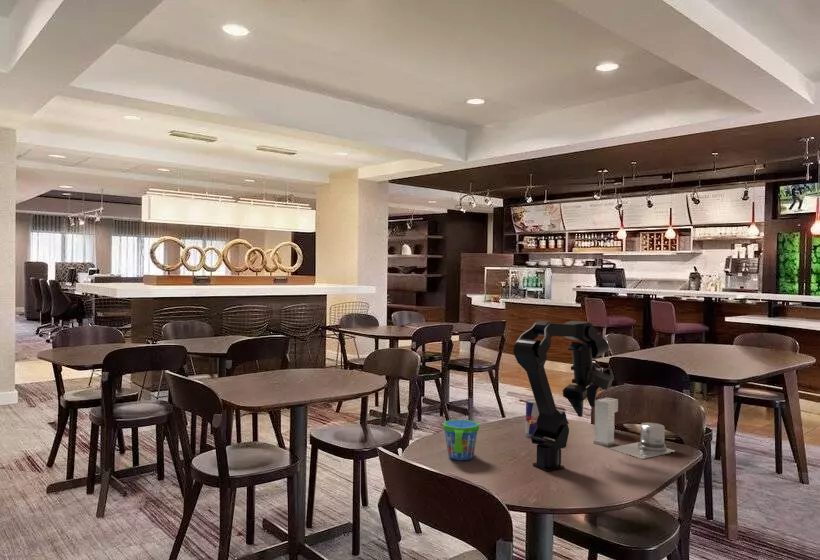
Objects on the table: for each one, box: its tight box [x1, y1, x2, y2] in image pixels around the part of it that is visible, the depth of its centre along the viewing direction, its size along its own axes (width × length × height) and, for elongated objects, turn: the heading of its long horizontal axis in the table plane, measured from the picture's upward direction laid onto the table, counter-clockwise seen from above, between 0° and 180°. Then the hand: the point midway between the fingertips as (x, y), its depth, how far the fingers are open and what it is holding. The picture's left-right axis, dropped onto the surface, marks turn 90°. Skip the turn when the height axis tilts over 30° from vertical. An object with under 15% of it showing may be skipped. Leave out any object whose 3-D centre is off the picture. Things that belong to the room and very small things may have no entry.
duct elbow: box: [593, 397, 619, 447], centre depth 195 cm, size 8×5×14 cm, turn 135°
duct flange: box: [609, 422, 676, 460], centre depth 187 cm, size 17×12×7 cm
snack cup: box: [442, 419, 480, 461], centre depth 177 cm, size 16×10×10 cm
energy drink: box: [525, 399, 539, 439], centre depth 201 cm, size 5×5×12 cm
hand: (586, 411), depth 182 cm, fingers open, 9 cm apart
